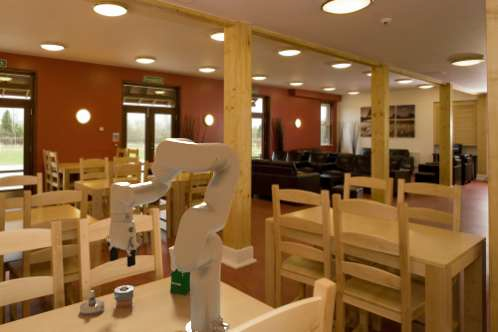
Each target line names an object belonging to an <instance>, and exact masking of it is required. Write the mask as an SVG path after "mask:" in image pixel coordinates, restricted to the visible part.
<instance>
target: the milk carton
mask: <svg viewBox="0 0 498 332" xmlns="http://www.w3.org/2000/svg"><path fill="white" fill-rule="evenodd" d="M173 248H174V245H172V246H171V247H169V248H168V252H169V256H170V278H171V279H170V287H169V288H170V289H169V292H170V293H171V294H172V293H173V294H177V295H180V296H186V295H188V294H190V274H191V272H183V271H180V270H179V269H178V268H177V267H176V265H175V263H174V260H173Z"/></svg>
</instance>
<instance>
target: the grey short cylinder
mask: <svg viewBox="0 0 498 332" xmlns="http://www.w3.org/2000/svg"><path fill="white" fill-rule="evenodd" d="M122 286H123V285H120V286H117V287H116V288H115V289H114V290H113V295H114V297H113V298H114V300H115V301H116V300H118V301H126V300H129V299H131V298H132V299H133V298H134V294H135V292H134V288H135V286H133V285H128V284H127V285H125V286H126V291H122Z"/></svg>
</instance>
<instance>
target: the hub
mask: <svg viewBox="0 0 498 332" xmlns="http://www.w3.org/2000/svg"><path fill="white" fill-rule="evenodd" d="M88 291H89V295H88V296H89V299H88V300H87V301H85V302H82V303H81V304H80V306H79V313H80V315H82V316H87V317H88V316H95V315H98V314H100V313H102V312H104V310H105V301H104V300H102V299H97V298H96V297H95V290H94V289H91V290H88Z"/></svg>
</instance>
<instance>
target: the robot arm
mask: <svg viewBox="0 0 498 332" xmlns="http://www.w3.org/2000/svg"><path fill="white" fill-rule="evenodd" d="M154 154H155V155H154V156H155V161H154V162H153V163H151V167H150V170H151V173H152V175H153V176H154V177H152V179H150V180H149V181H147V182H140V183H133V184H132V183H130V182H127V181H120V182H119V181H118V182H114V183H112V184H111V185H110V223H109V233H108V235H107V236H105V240H106V244H107V246H108V250H109V261H110V262H113V261H117V260H119V249H120V250H123V251H126V253H127V256H126V266H127V268H131V267H133V266H136V255H137V254H138V252H139V250H140V249H139V248H140V246H141V245H140V244H139V242H137V241H138V240H137V239H138V237H137V230H136V223H135V221H134V214H133V213H134V207H138V206H142V205H145V204H146V205H147V204H151V203H154V202H156V201H158V200H159V199H160V198H162V197H163V196H164V195H165V194H167V192H168V191H169V190H170V188H171V186H172V184H173V181H174V179H175V178H177V177H178V176H179V175H180V174H181V173H183V172H187V173H192V174H193V173H194V174H204V173H209V172H210V173H211V172H214V173H213V175H212V177H211V178H210V180H209V182H208V184H207V186H206V190H205V194H204V198H203V200H202V202H201V203H200V204H196V205H192V206H191V207H188V208H187V210H185V212H184V213H183V214H182V216H181V219H180V221H179V224H178V229H177V233H176V237H175V241H174V245H173V246H174V248H173V260H174V263H175V265H176V267H177V268H178V269H179V270H180V271H183V272H191V274H190V292H189V295H190V297H189V299H190V300H189V301H190V303H189V307H190V309H189V311H190V312H189V313H190V314H189V315H190V321H189V322H188V323H187V324H186V326H185V332H195V331H198V332H225V331H227V330H228V331H229V329H230V324H229V323H225V322H224V316H222V315H221V272H222V271H221V269H222V261H223V254H224V244H223V240H222V238H221V237H220V236H219V235H218V232H220V231H221V230H223V229H224V228H225V227H226V224H227V222H228V219H229V215H230V211H231V208H232V204H233V200H234V196H235V192H236V190H237V187H238V183H239V181H240V176H241V169H242V167H241V166H242V165H241V160H240V158H239V155H238V153H237V152H236V151H235V150H234V148H233V147H231V146H230V145H229V144H225V143H222V142H204V143H195V142H194V140H192V139H189V138H186V137H185V138H181V137H179V138H178V137H177V138H175V137H174V138H166V139H163V140H161V141H160V142H159V143H158V144H157V146H156V148H155V152H154Z"/></svg>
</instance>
